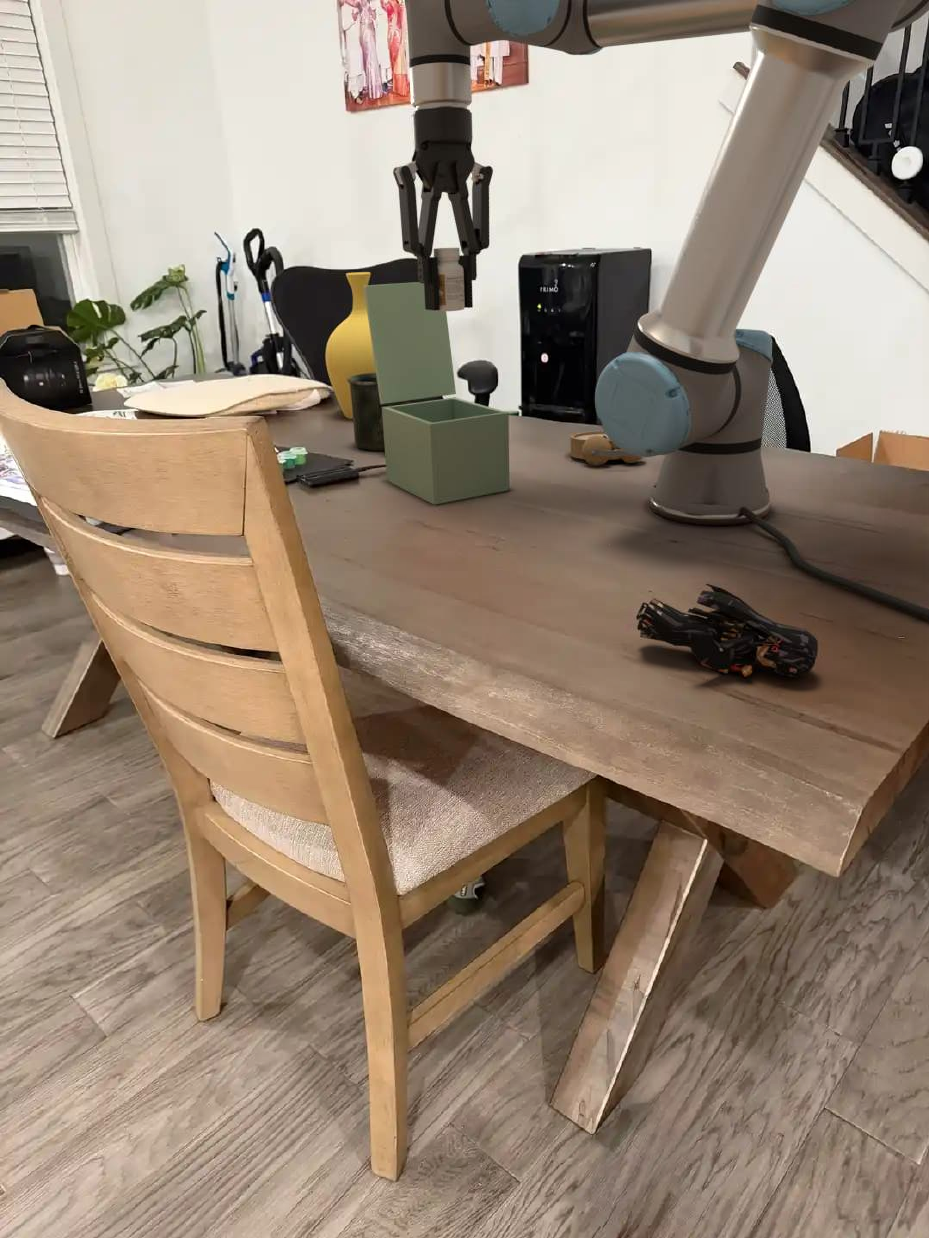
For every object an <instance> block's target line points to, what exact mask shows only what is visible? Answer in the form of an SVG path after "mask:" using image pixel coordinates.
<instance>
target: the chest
mask: <svg viewBox="0 0 929 1238" xmlns="http://www.w3.org/2000/svg"><path fill="white" fill-rule="evenodd" d="M509 414H510V413H509V412H508V411H505V410H501V409H498V408H493V407H491V406H486V405H483V404H480V403H476V402H473V401H469V400H465V399H462V398H458V397H448V398H440V399H432V400H426V401H418V402H411V403H410V402H409V403H408V404H403V405H395V406H388V407H382V417H383V431H384V444H385V450H384V456H385V457H384V458H385V469H386V471H385V472H386V481H387V482H388V483H391V484H392V485H395V486H396V487H398V488H399V489H402V490H404V491H406V492H408V493H410V494H412V495H414V496H416V497H418V498H420V499H422V500H423V501H426V502H428V503H430V504H431V505H434V506H435V505H441V504H445V503H450V502H456V501H461V500H466V499H471V498H476V497H482V496H486V495H492V494H496V493H502V492H505V491H506V492H507V491H510V419H509V416H510V415H509Z"/></svg>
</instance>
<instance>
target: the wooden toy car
mask: <svg viewBox="0 0 929 1238" xmlns="http://www.w3.org/2000/svg"><path fill="white" fill-rule="evenodd" d="M569 439H570V453H569V454H570V457H572V458H575V459H580V460H585V462H586V463H587V464H589V465H590V466H591V465H592V466H601V465H604V464H606V463H607V462H608V461H610V460H623V462H624V463H626V464H634V463H637V462H638V461H640V460H641V459H642V457H639V456H635V455H632V454H629V453H627V452H625V451H623V450H622V449H620V448H619V447H618V446H616V445H615V444H614V443H613V442H612V441H611V440H610V439H609V437H608V436H607V435H606V433H605V432H604V430H594V431H583V432H577V433H574V434H572V435H570V436H569Z"/></svg>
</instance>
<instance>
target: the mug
mask: <svg viewBox="0 0 929 1238" xmlns="http://www.w3.org/2000/svg"><path fill="white" fill-rule="evenodd" d="M347 381H348V383H350V390H351V401H352V412H353V419H352V421H353V432H354V433H353V435H354V444H355V445H356V447H357V448H359V449H361V450H365V451H385V444H384V431H383V417H382V407H388V406H395V405H403V404H409V400H408V401H401V402H393V403H386V404H380V397H379V390H378V383H377V376H376V373H366V374H359V375H354V376H351V377H349V378H348V379H347Z"/></svg>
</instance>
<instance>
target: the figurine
mask: <svg viewBox="0 0 929 1238" xmlns="http://www.w3.org/2000/svg"><path fill="white" fill-rule="evenodd" d="M705 585H706V586H708V587H710V588H711V590H712V591H709V590H702V591H701V592H700V594H699V595H698V598H697V601H696V604H698V605H700V606H703V607H707V608H710V609H713V610H710V611H709V610H704V609H701V608H698V607H692V608H689V609H688V610H687V612H683V611H681V610H679V609H676V608H675V607H673V606H671V605H669V604H667V603H665V602H663V601H661V600H660V599H658V598H656V597H652V599H651V600H650V602H648V603H647V602H642V603H641V606H640V608H639V610H638V612H637V615H636V616H635V618H636V620H637V621H638V623H637V627H636V629H637V631H640V638H644V639H648V640H654V641H659V642H664V643H667V644H669V645H672V646H674V647H687V648H690V651H691V653H692V654H693V655H694V658H695V659H697V660H698V662H699V663H700V664H701V666H704V667H706V668H709V669H711V670H714V671H718V672H722V673H725V674H728V673H729V672H731V673H735V674H739V675H743V676H744V677H748V676H750V675H751V674H752V673H753V671H754V667H755V664H756V660H758V662H759V663H760V664H761V665H763V666H766V667H771V668H773V669H774V670H773V672H774V673H777V674H779V675H781V676H787V677H790V678H791V677H793V678H798V677H802V676H804V675H807V674H809V672H811V671H812V670H813V668H814V666H815V664H816V659H817V658H818V653H819V641H818V639H817V638H816V637H815V635H813V634H812V633H811V632H809V631H808V630H807V629H804V628H800V627H796V626H791V625H787V624H782V623H780V622H777V621H773V620H771V619H770V618H768V617H766V616H764V615H762V614H761V613H759V612H757V610H755V609H754V608H753V607H752V606H750V605H749V604H748V603H747V602H745V601H744V600H743V599H742V598H740V597H739V596H737V595H736V594H734V593H733V592H731V591H728V590H726V589H724V588H722V587H719V586H715V585H712V584H710V583H705ZM759 647H760V648H759ZM758 648H759V650H758Z"/></svg>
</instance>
